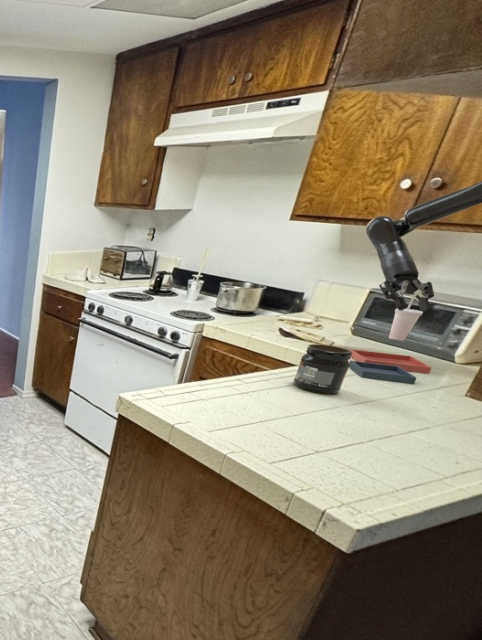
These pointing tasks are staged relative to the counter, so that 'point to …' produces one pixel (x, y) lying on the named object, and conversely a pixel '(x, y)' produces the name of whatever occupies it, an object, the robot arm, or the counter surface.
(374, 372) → the slate tray
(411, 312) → the smoothie
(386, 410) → the counter surface
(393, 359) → the rose tray
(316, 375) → the supplement container
